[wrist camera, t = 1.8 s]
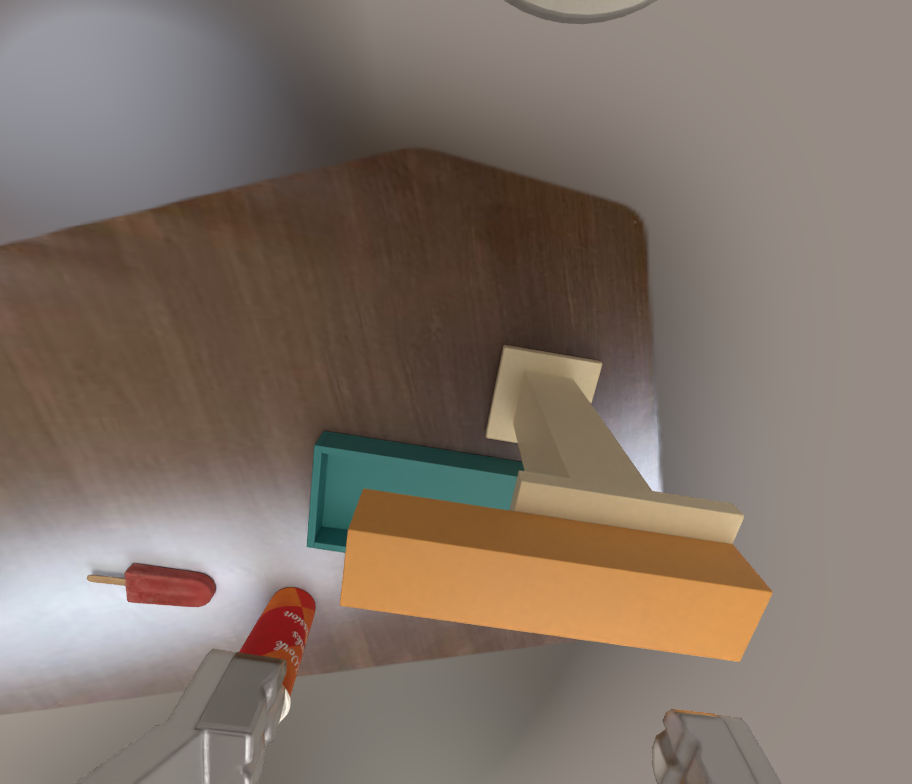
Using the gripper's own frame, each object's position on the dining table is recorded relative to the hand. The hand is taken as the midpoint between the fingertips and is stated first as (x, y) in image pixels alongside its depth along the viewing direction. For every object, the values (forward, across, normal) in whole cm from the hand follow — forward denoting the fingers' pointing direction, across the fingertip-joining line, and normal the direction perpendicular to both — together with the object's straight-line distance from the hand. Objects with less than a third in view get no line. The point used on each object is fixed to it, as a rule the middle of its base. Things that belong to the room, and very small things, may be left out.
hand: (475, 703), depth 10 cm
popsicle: (+41, +32, +37) cm, 64 cm away
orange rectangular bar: (+15, -5, +6) cm, 17 cm away
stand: (+41, -9, +6) cm, 42 cm away
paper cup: (+41, +15, +38) cm, 58 cm away
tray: (+41, 0, +20) cm, 45 cm away
